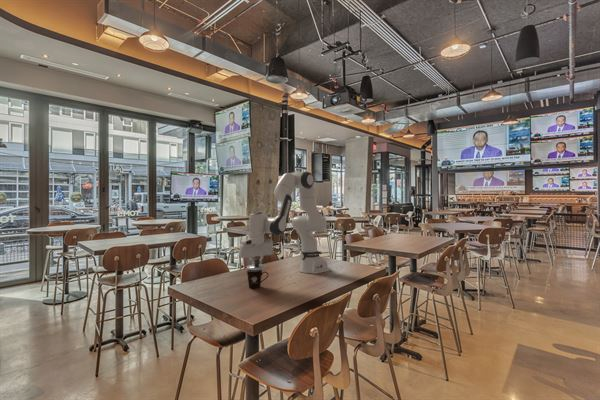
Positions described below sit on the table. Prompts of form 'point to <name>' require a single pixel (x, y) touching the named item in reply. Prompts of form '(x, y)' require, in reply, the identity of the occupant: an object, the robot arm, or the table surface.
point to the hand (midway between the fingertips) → (256, 263)
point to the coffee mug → (255, 278)
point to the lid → (256, 266)
